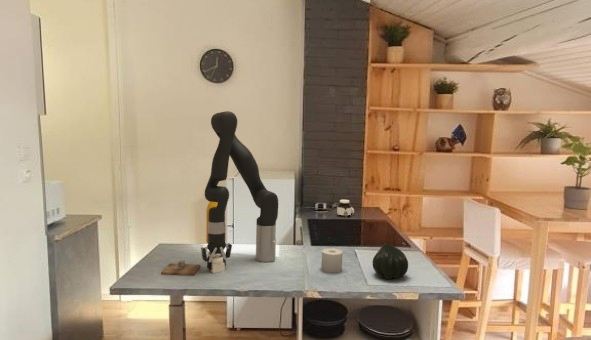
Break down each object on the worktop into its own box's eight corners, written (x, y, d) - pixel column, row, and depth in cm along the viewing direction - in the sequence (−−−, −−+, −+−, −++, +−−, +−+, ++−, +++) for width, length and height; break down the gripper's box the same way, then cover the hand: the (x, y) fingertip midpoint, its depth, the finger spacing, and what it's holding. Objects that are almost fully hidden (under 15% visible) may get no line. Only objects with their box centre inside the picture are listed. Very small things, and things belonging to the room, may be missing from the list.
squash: (417, 270, 172) (405, 238, 180) (385, 274, 168) (374, 241, 176) (403, 282, 183) (392, 251, 191) (373, 287, 179) (363, 255, 187)
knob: (219, 267, 185) (220, 253, 185) (225, 271, 181) (225, 256, 180) (208, 269, 182) (208, 255, 182) (213, 273, 178) (213, 258, 177)
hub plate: (200, 266, 185) (200, 258, 185) (193, 275, 174) (193, 266, 174) (169, 265, 186) (169, 257, 185) (161, 274, 175) (161, 265, 174)
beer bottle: (215, 238, 230) (215, 187, 227) (227, 242, 225) (227, 189, 221) (202, 242, 222) (202, 189, 219) (214, 245, 217) (214, 191, 214)
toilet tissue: (327, 262, 195) (328, 245, 194) (346, 271, 184) (346, 252, 183) (312, 265, 190) (313, 247, 190) (330, 275, 179) (330, 255, 178)
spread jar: (336, 217, 293) (337, 200, 291) (337, 213, 304) (338, 198, 302) (353, 218, 291) (354, 201, 289) (354, 214, 302) (354, 199, 300)
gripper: (228, 227, 187) (228, 263, 189) (197, 231, 179) (197, 268, 181) (235, 231, 180) (235, 268, 182) (204, 235, 173) (204, 274, 174)
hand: (216, 268), depth 181 cm, fingers closed on knob, 5 cm apart
